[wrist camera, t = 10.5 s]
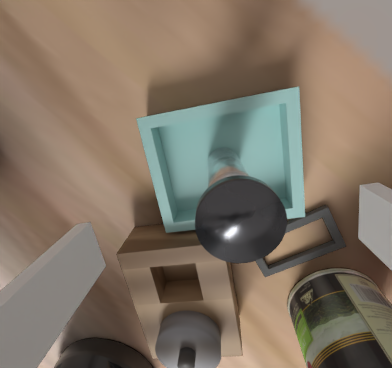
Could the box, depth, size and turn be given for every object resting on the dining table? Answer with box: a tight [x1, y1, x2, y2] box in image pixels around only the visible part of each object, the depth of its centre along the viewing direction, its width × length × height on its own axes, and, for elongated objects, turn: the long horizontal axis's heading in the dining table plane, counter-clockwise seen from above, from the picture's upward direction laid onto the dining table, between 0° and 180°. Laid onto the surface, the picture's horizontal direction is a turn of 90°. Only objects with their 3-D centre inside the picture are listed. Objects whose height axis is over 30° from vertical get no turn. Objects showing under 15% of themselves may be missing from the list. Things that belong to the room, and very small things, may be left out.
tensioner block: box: [117, 224, 243, 368], centre depth 25 cm, size 14×10×8 cm
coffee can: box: [287, 268, 392, 368], centre depth 21 cm, size 10×10×14 cm
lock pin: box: [195, 147, 287, 263], centre depth 17 cm, size 4×4×12 cm
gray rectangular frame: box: [256, 205, 346, 277], centre depth 25 cm, size 9×5×1 cm, turn 121°
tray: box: [136, 87, 305, 233], centre depth 22 cm, size 13×11×3 cm
